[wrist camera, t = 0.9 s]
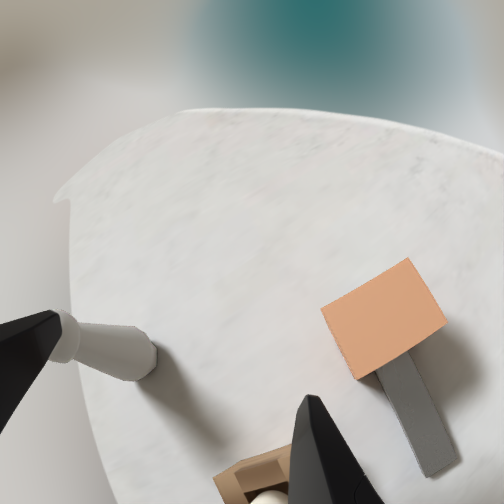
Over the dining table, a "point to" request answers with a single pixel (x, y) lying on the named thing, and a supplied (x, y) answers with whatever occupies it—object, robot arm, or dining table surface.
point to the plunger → (271, 498)
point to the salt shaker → (105, 348)
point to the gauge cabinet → (255, 476)
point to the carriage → (383, 318)
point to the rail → (416, 414)
